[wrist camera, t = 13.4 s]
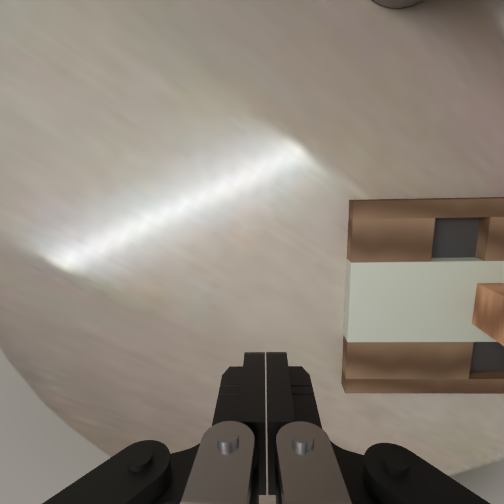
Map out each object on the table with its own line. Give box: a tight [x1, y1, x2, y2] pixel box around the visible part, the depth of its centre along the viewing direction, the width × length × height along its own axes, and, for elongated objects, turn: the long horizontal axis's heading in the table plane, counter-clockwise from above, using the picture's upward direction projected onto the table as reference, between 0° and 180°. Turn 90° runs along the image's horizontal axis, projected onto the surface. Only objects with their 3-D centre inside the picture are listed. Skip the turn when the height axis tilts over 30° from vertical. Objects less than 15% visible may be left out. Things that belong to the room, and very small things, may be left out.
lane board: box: [342, 197, 504, 393], centre depth 39 cm, size 24×28×4 cm
